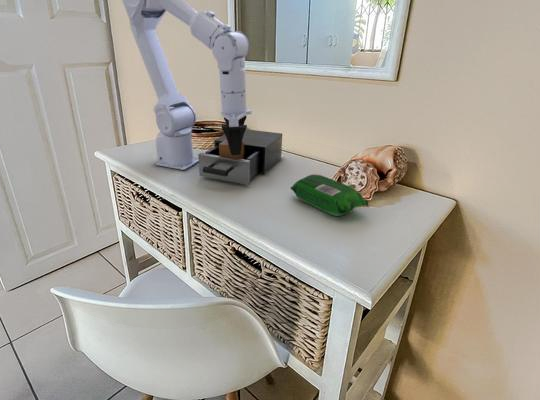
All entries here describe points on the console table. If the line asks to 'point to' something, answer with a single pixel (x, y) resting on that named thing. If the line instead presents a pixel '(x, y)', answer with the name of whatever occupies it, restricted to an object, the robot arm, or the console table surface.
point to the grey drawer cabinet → (261, 146)
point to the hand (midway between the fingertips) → (236, 149)
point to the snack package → (328, 194)
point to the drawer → (230, 165)
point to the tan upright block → (226, 152)
